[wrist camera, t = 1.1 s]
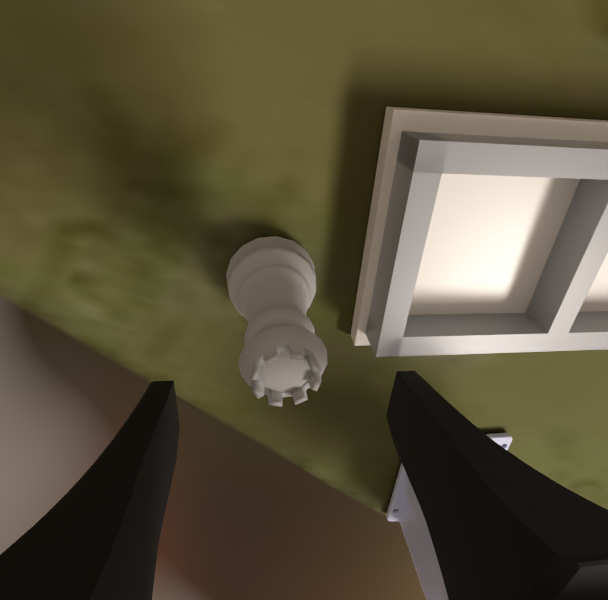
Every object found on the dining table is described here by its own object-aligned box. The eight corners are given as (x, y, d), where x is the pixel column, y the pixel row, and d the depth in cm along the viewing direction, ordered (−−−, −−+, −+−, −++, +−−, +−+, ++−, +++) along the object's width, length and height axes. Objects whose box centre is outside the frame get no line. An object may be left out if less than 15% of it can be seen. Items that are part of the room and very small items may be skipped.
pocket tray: (657, 327, 27) (701, 356, 24) (350, 335, 24) (364, 369, 21) (778, 131, 21) (855, 142, 18) (386, 106, 17) (411, 116, 15)
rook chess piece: (330, 256, 21) (374, 355, 14) (286, 321, 23) (307, 438, 16) (251, 216, 19) (259, 306, 12) (211, 290, 21) (198, 405, 14)
